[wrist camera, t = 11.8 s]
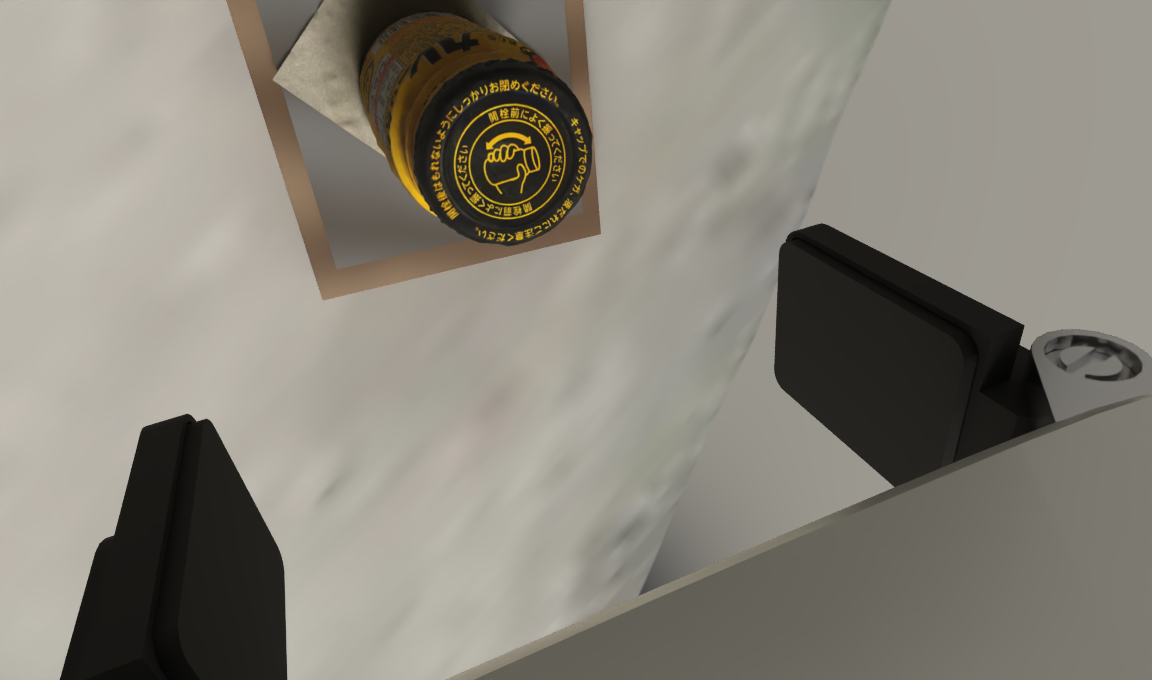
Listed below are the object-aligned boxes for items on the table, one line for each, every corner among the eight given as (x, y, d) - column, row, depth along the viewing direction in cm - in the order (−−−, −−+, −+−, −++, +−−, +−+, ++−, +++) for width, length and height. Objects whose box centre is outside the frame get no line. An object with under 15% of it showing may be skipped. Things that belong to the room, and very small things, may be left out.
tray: (177, -171, 25) (165, -185, 22) (542, -193, 29) (570, -208, 26) (319, 275, 34) (323, 304, 32) (579, 215, 38) (603, 236, 35)
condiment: (448, 199, 31) (527, 313, 22) (272, 78, 27) (271, 155, 17) (545, 66, 30) (675, 123, 20) (379, -86, 25) (445, -105, 16)
